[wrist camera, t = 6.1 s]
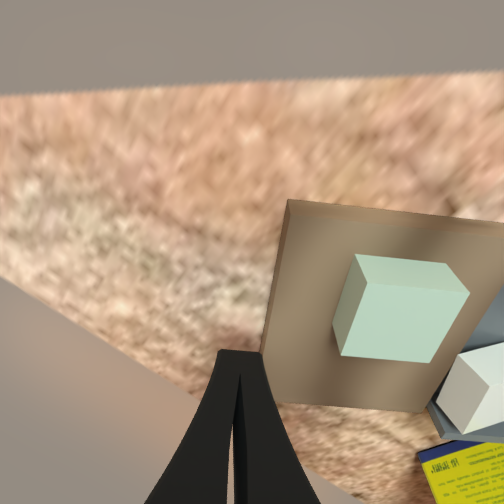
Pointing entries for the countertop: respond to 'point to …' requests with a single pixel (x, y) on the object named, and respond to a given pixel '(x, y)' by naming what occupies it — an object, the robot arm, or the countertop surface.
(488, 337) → the tray
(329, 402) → the tan flat slab
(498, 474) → the supplement box
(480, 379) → the cream tile
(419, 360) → the sage tile
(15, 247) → the countertop surface
